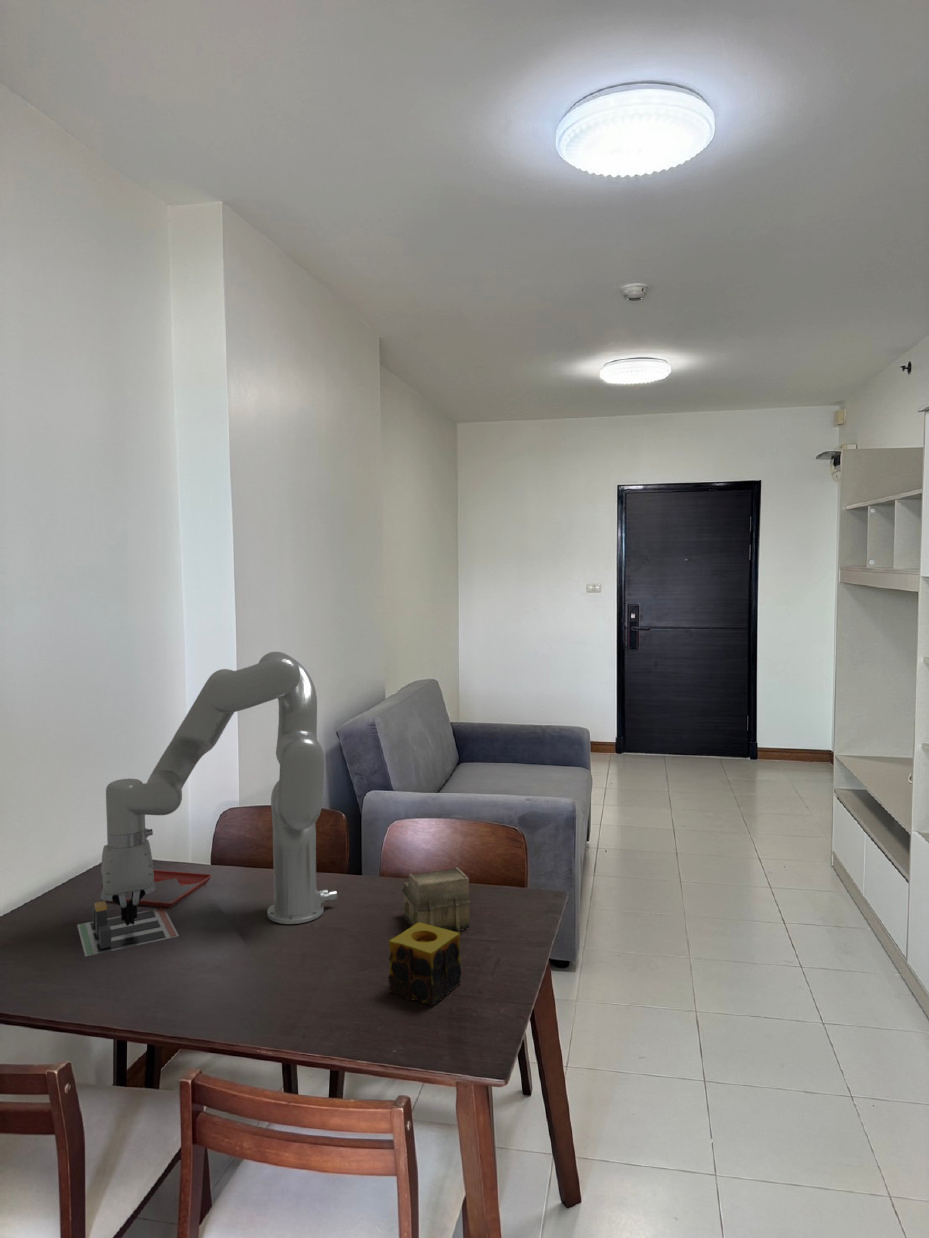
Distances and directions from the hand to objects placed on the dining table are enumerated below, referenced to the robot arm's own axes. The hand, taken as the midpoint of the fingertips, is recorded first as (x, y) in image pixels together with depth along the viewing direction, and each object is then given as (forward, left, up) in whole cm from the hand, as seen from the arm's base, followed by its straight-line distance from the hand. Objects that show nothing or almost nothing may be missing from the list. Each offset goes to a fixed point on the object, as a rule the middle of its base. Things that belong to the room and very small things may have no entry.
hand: (129, 922), depth 176 cm
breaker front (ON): (+6, +6, -2) cm, 8 cm away
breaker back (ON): (+6, -6, -2) cm, 8 cm away
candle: (-44, +51, -3) cm, 68 cm away
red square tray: (-9, -20, -4) cm, 22 cm away
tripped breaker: (+6, 0, -2) cm, 6 cm away
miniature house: (-61, +27, -4) cm, 67 cm away
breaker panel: (+1, 0, -3) cm, 3 cm away
